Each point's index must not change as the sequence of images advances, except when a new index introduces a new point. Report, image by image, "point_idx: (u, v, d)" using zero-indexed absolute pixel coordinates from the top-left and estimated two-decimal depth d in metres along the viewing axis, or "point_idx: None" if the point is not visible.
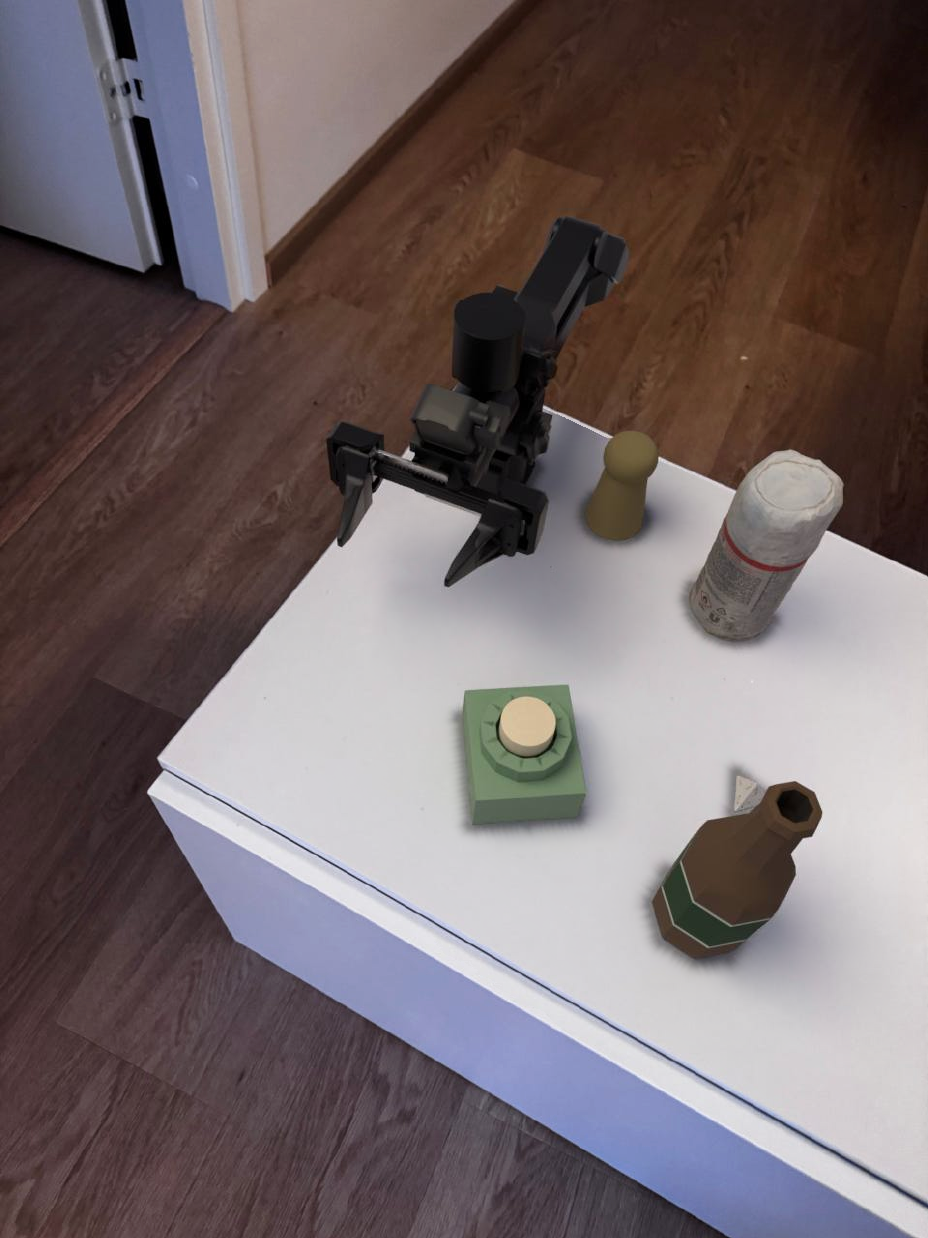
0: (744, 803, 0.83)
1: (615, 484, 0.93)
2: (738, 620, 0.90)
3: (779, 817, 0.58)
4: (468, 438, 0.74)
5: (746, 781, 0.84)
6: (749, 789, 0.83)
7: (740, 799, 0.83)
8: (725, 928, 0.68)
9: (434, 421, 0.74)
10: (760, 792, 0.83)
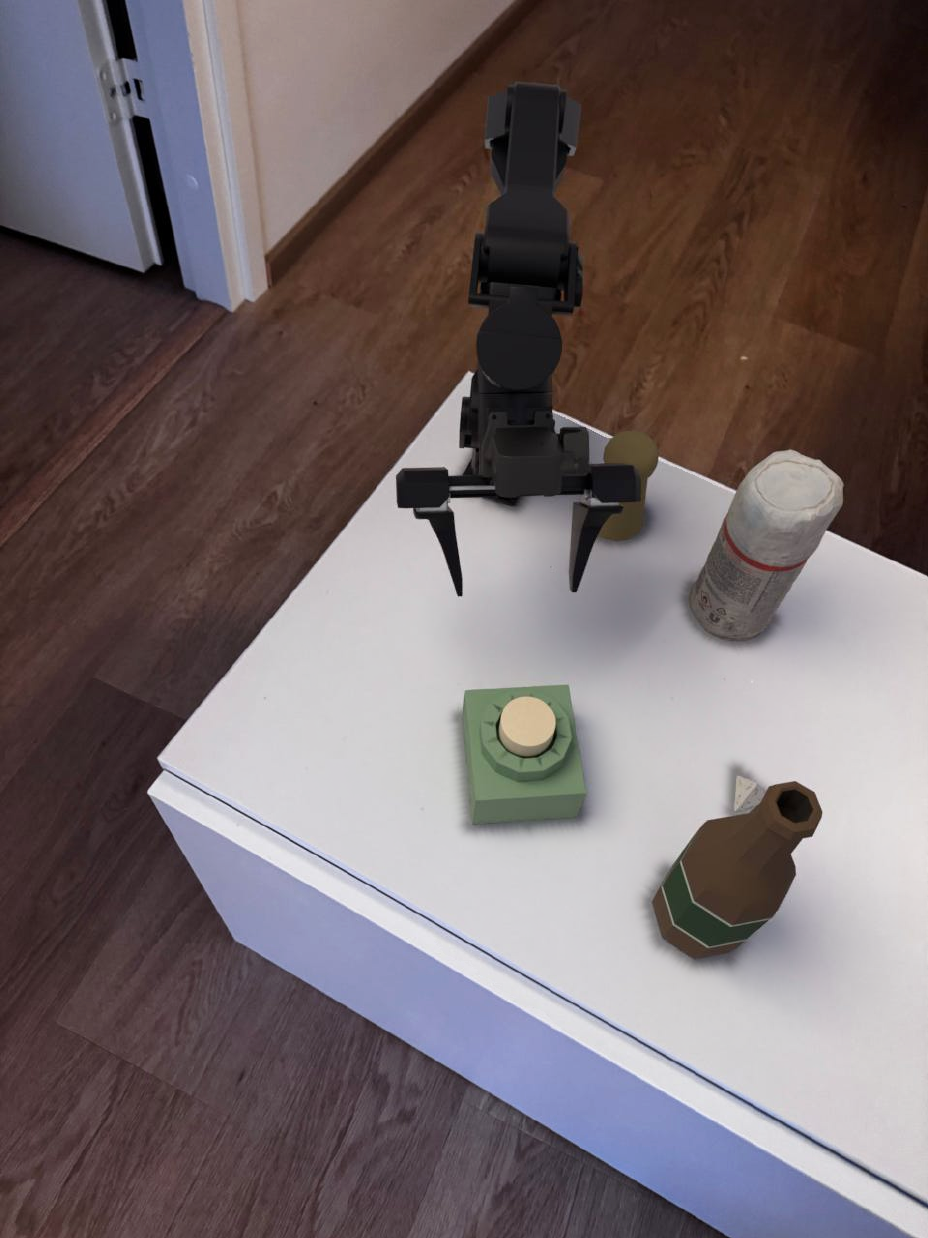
0: (744, 803, 0.83)
1: None
2: (738, 620, 0.90)
3: (779, 817, 0.58)
4: None
5: (746, 781, 0.84)
6: (749, 789, 0.83)
7: (740, 799, 0.83)
8: (725, 928, 0.68)
9: (526, 494, 0.69)
10: (760, 792, 0.83)
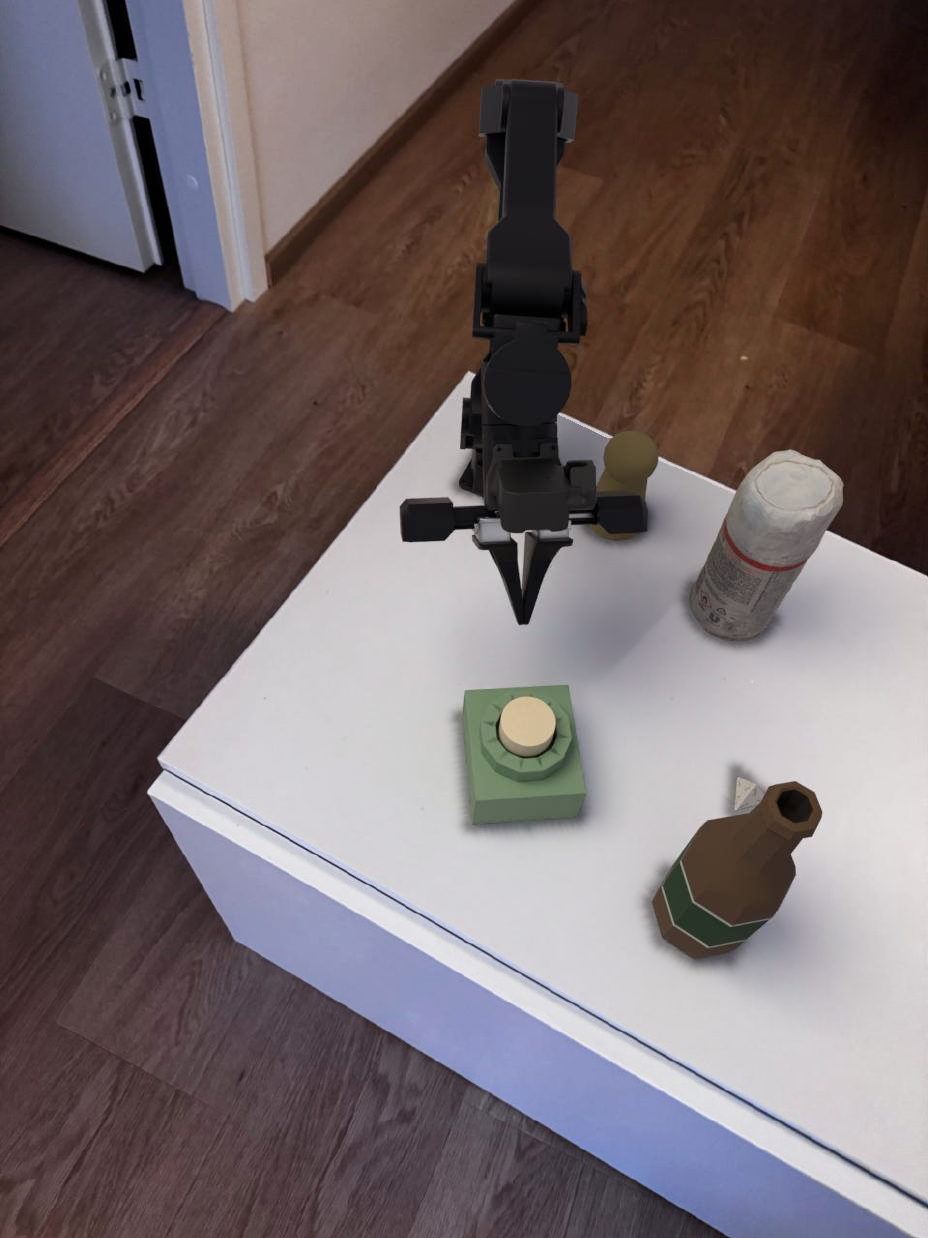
0: (743, 804, 0.84)
1: (615, 484, 0.93)
2: (738, 620, 0.90)
3: (779, 817, 0.58)
4: None
5: (745, 782, 0.84)
6: (748, 790, 0.83)
7: (739, 800, 0.84)
8: (725, 928, 0.68)
9: (532, 529, 0.68)
10: (759, 793, 0.83)
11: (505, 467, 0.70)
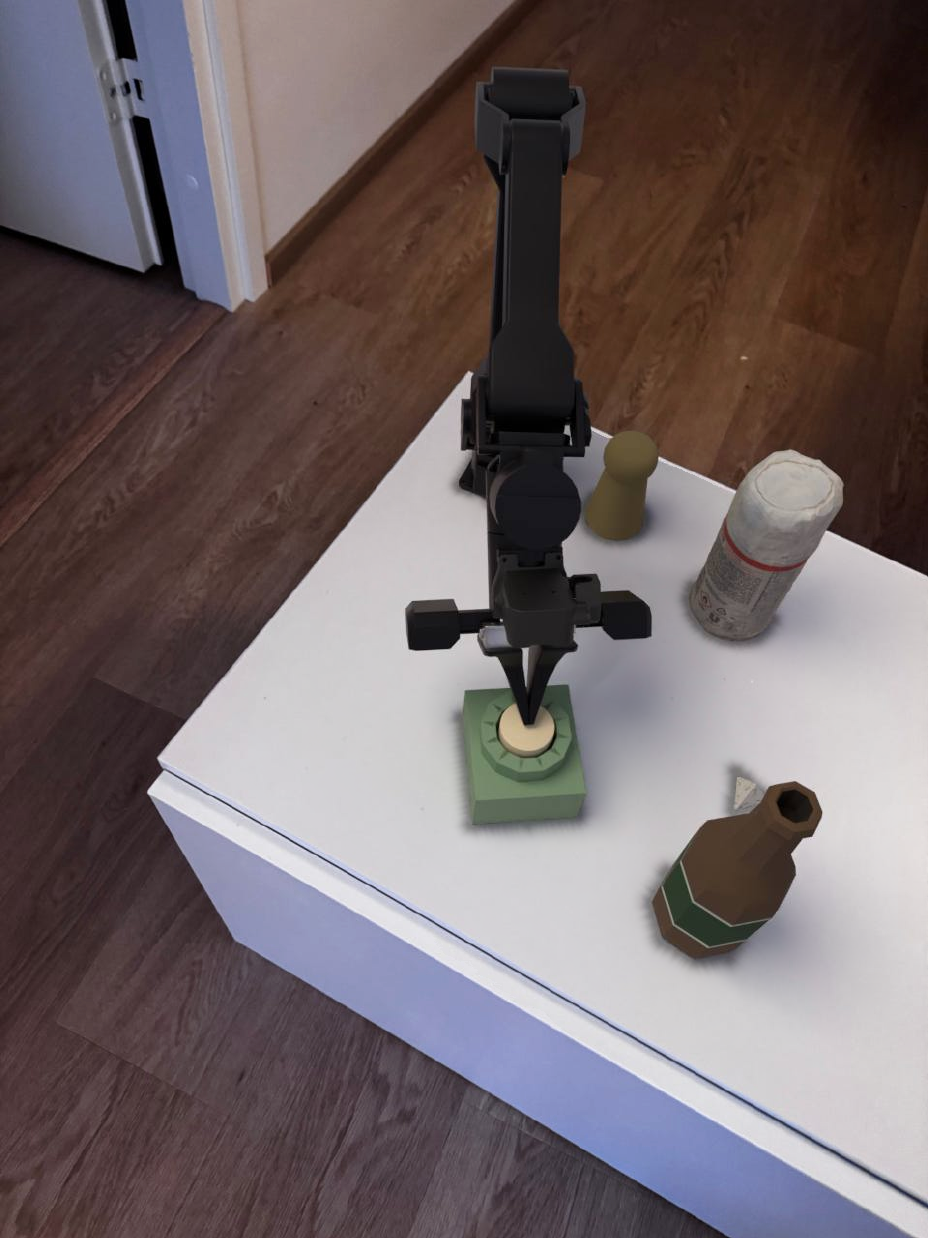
0: (742, 804, 0.84)
1: (615, 484, 0.93)
2: (738, 620, 0.90)
3: (779, 817, 0.58)
4: None
5: (745, 782, 0.84)
6: (748, 790, 0.83)
7: (739, 799, 0.84)
8: (725, 928, 0.68)
9: (538, 644, 0.68)
10: (759, 793, 0.83)
11: (510, 579, 0.70)
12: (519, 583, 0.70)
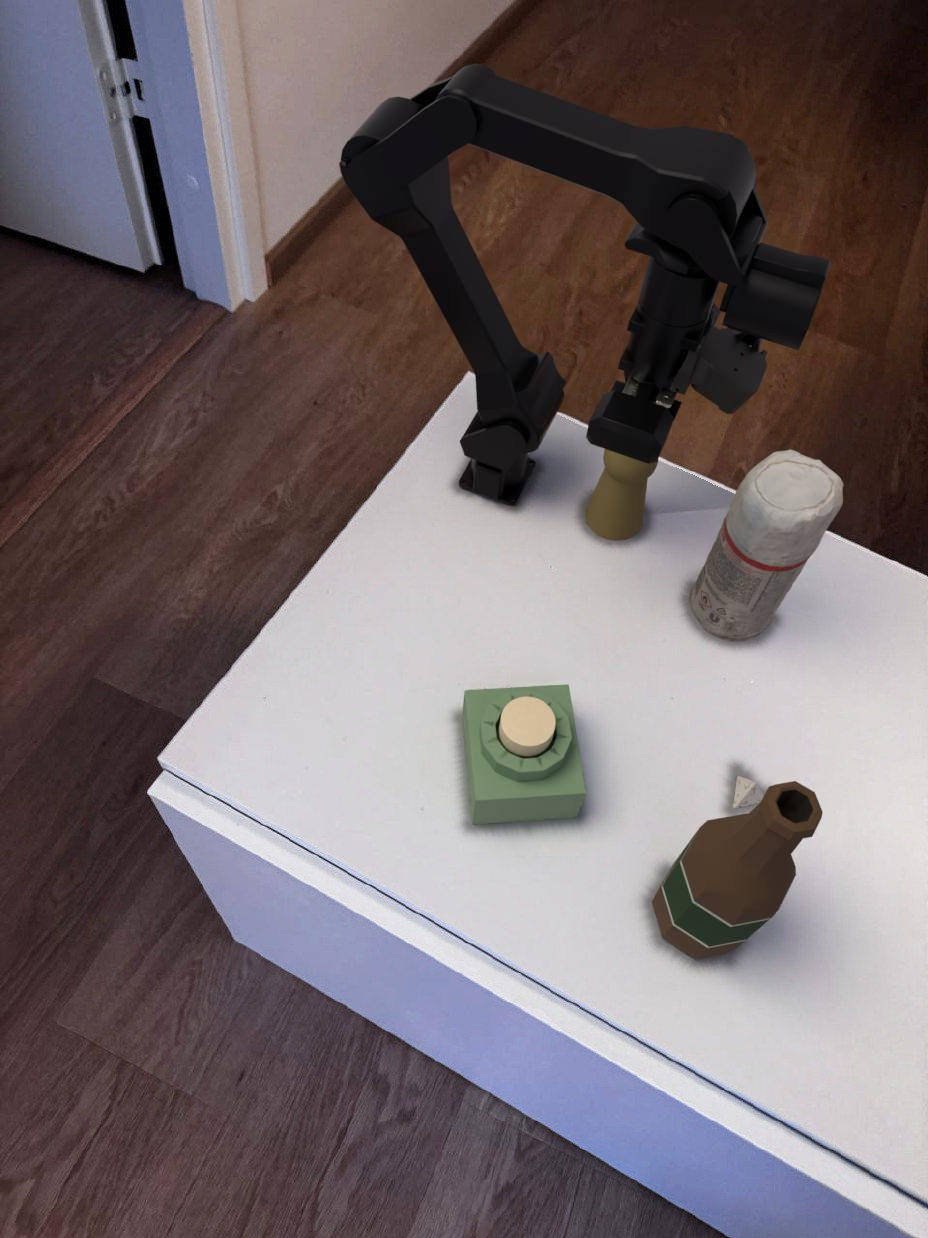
0: (742, 802, 0.84)
1: (615, 484, 0.93)
2: (738, 620, 0.90)
3: (779, 817, 0.58)
4: None
5: (745, 781, 0.84)
6: (747, 788, 0.83)
7: (738, 798, 0.84)
8: (725, 928, 0.68)
9: None
10: (758, 792, 0.83)
11: (713, 362, 0.78)
12: (721, 362, 0.78)
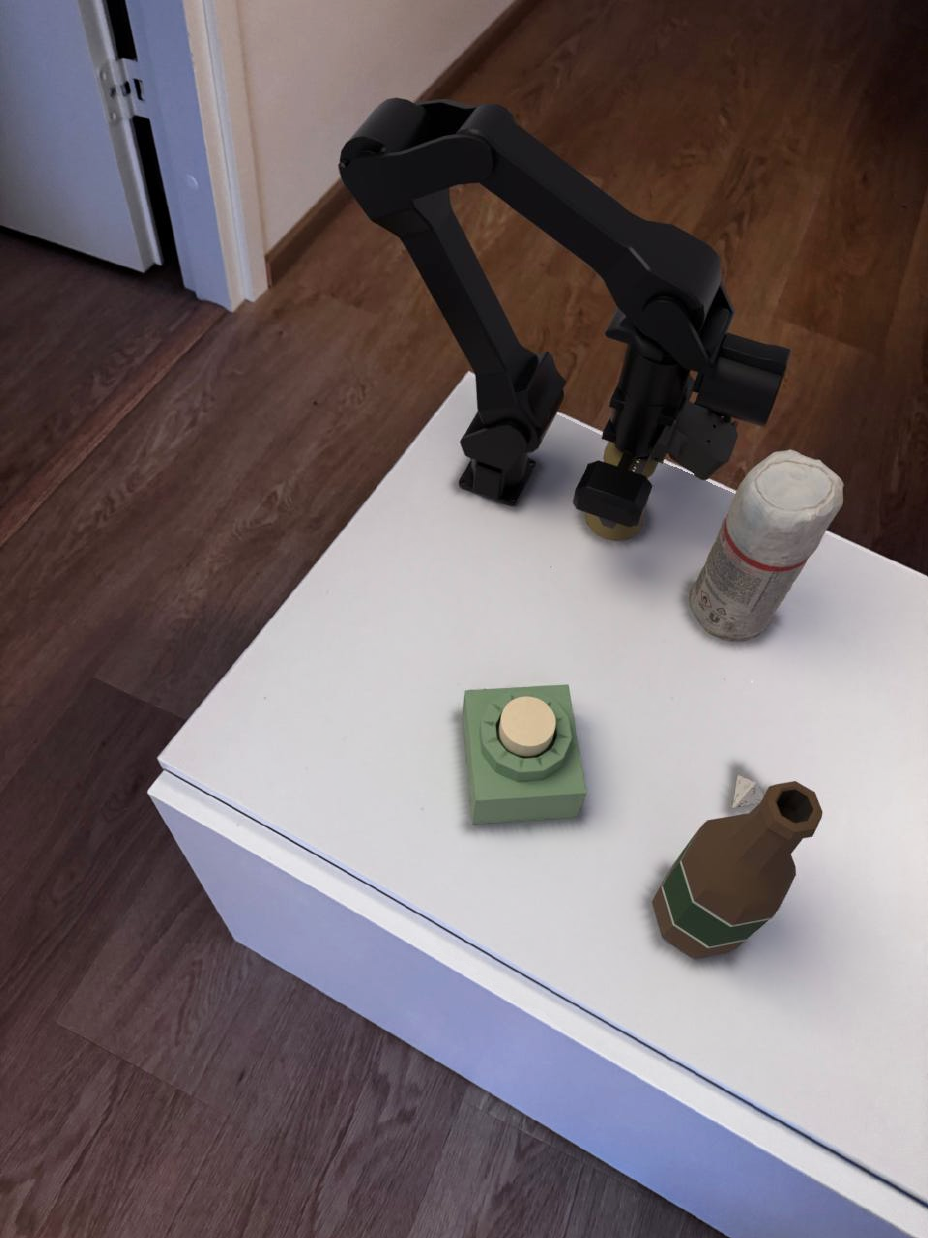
0: (741, 802, 0.84)
1: None
2: (738, 620, 0.90)
3: (779, 817, 0.58)
4: None
5: (745, 780, 0.84)
6: (747, 788, 0.83)
7: (737, 798, 0.84)
8: (725, 928, 0.68)
9: None
10: (758, 792, 0.83)
11: (687, 435, 0.85)
12: (695, 434, 0.85)
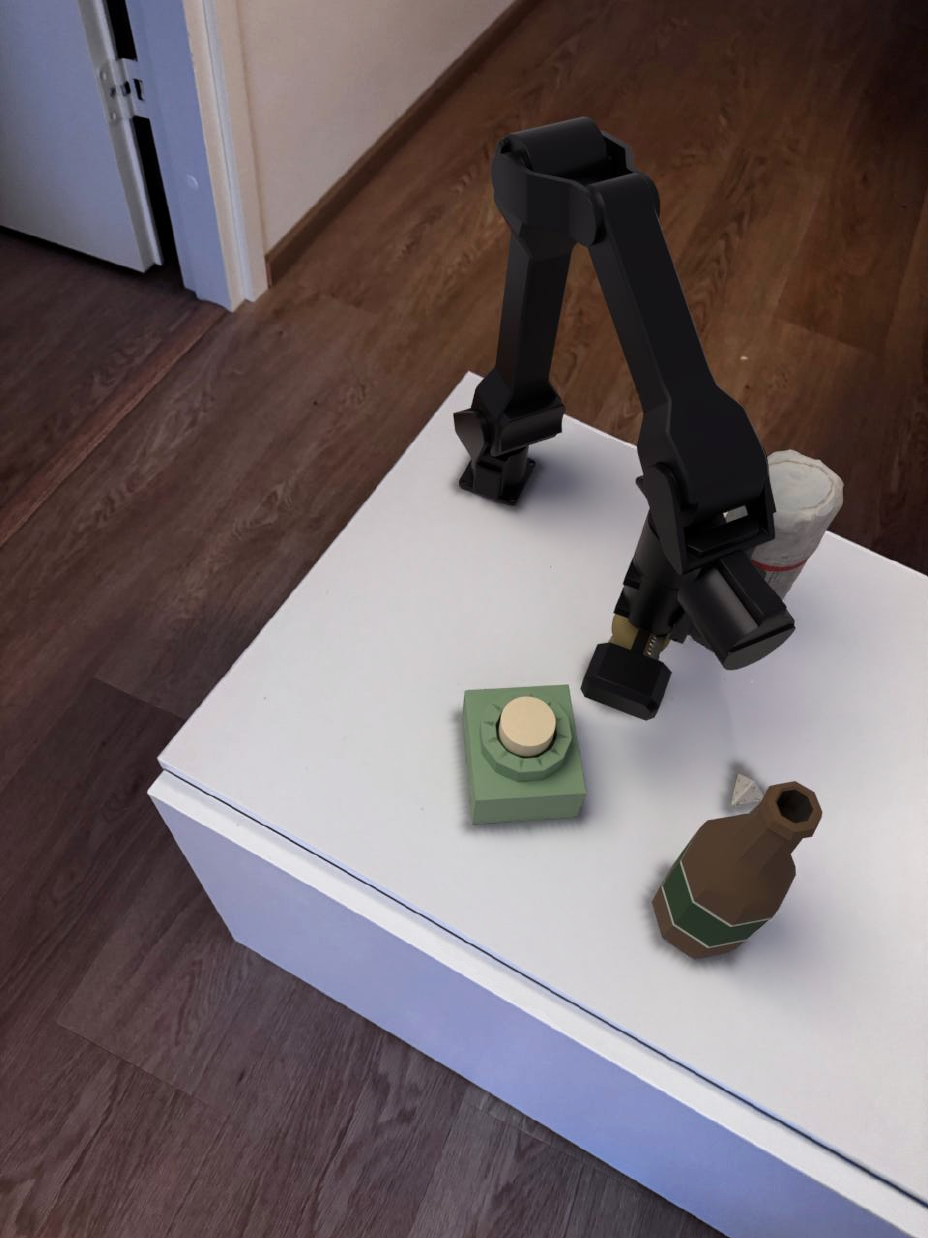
0: (740, 800, 0.84)
1: None
2: None
3: (779, 817, 0.58)
4: None
5: (744, 779, 0.84)
6: (746, 786, 0.83)
7: (736, 796, 0.84)
8: (725, 928, 0.68)
9: None
10: (757, 791, 0.83)
11: None
12: None
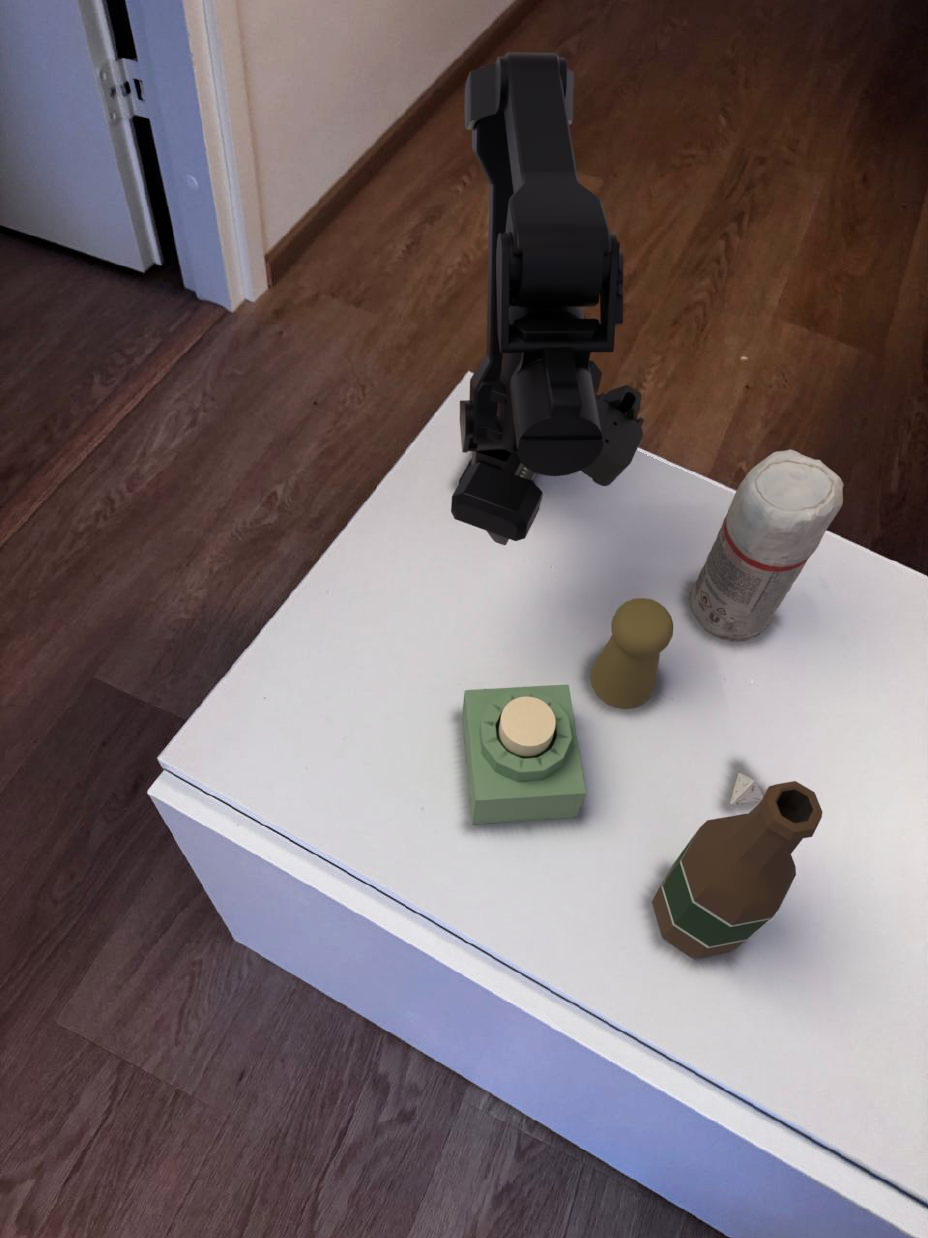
0: (739, 799, 0.84)
1: (624, 657, 0.83)
2: (738, 620, 0.90)
3: (779, 817, 0.58)
4: None
5: (744, 778, 0.84)
6: (746, 786, 0.83)
7: (736, 794, 0.84)
8: (725, 928, 0.68)
9: None
10: (757, 790, 0.83)
11: None
12: None
